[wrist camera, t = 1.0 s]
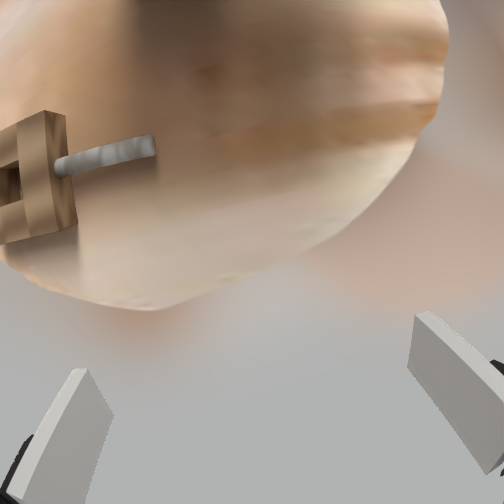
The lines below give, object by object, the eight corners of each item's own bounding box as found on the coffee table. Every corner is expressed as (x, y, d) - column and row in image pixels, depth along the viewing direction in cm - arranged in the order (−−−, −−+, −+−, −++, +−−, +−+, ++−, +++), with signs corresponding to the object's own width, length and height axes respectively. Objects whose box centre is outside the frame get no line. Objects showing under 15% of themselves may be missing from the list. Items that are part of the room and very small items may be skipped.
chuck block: (-6, 146, 28) (-28, 147, 23) (152, 89, 29) (140, 77, 24) (7, 239, 32) (-14, 248, 27) (166, 206, 33) (156, 212, 28)
